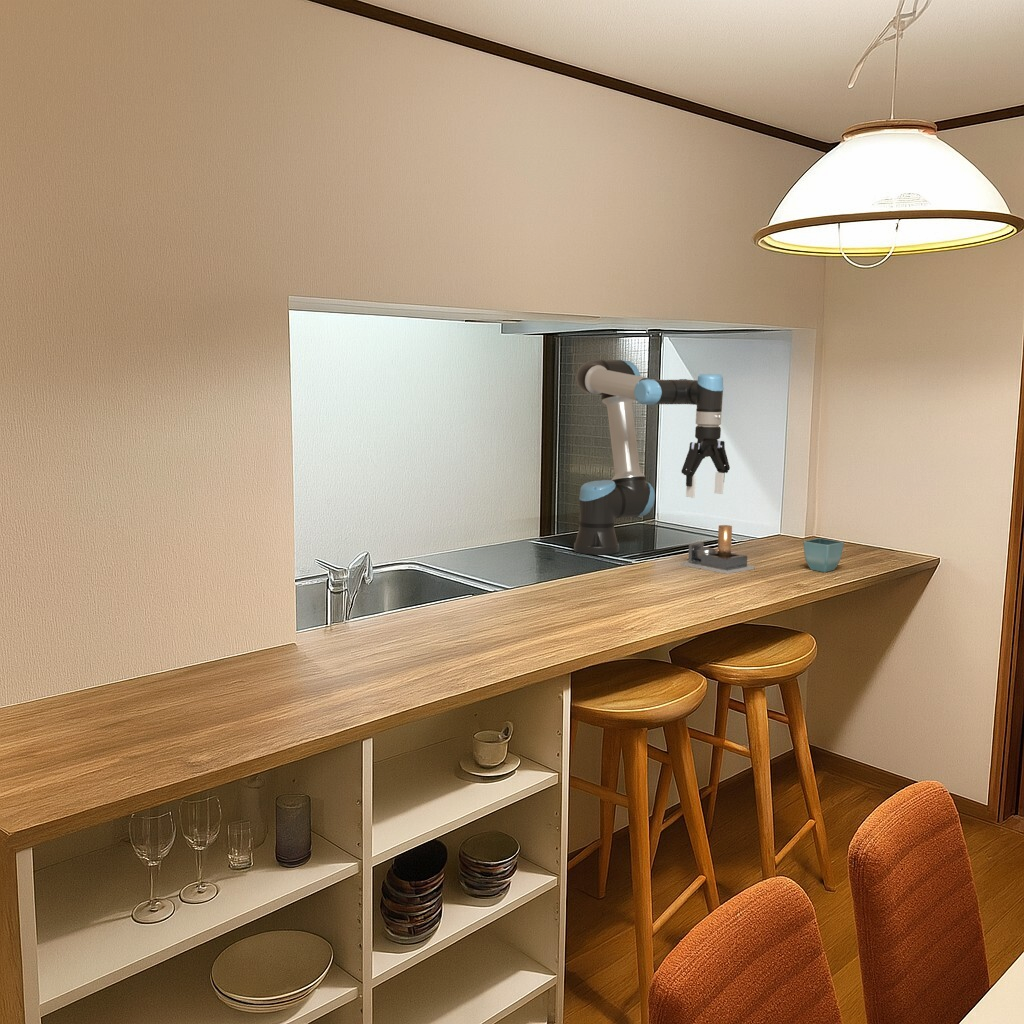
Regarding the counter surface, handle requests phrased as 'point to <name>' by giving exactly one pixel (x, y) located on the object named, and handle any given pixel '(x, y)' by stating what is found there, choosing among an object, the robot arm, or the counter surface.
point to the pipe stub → (724, 541)
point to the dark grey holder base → (715, 560)
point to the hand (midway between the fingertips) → (704, 495)
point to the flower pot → (823, 554)
